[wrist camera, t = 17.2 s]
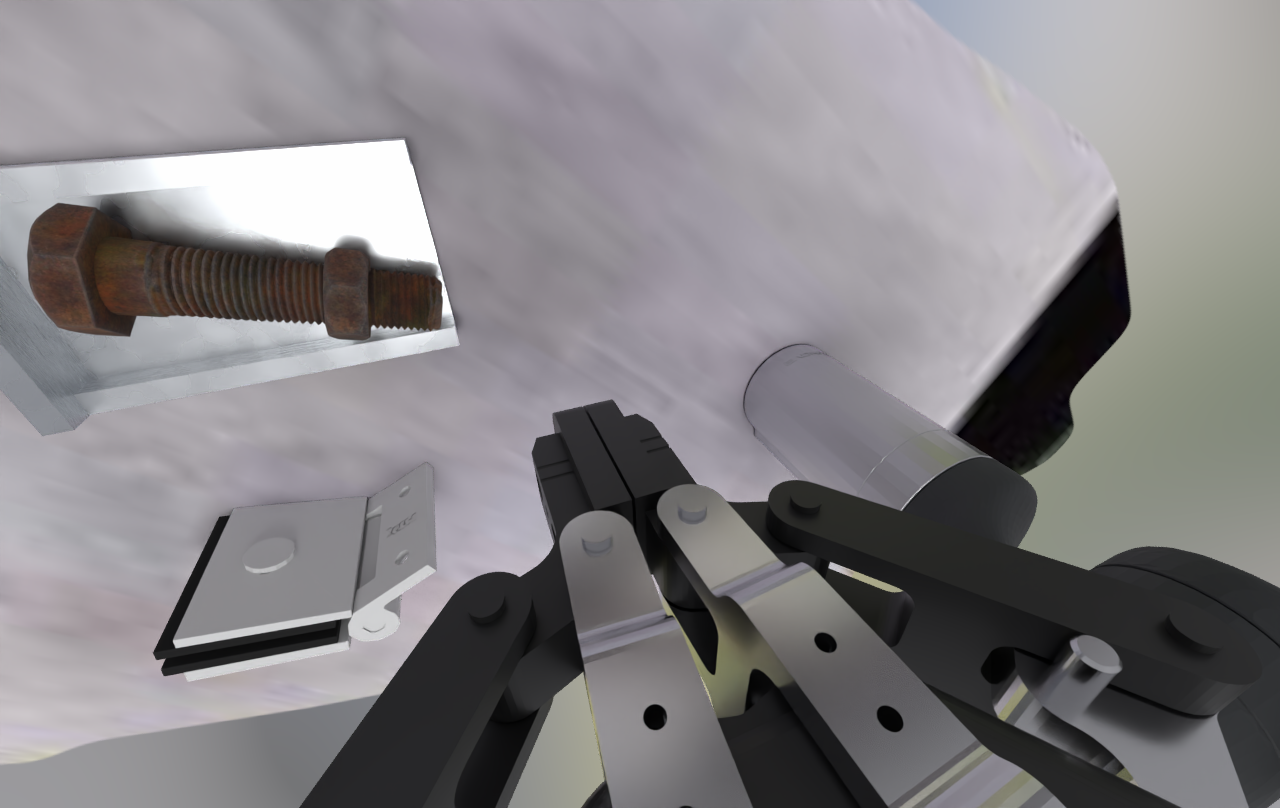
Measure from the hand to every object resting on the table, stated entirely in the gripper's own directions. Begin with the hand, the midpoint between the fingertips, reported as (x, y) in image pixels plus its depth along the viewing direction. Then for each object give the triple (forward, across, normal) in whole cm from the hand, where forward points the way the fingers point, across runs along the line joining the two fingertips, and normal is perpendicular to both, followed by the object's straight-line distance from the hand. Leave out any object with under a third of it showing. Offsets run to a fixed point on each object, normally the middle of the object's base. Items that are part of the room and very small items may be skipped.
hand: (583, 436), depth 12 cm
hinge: (+22, +14, +17) cm, 31 cm away
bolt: (+21, +11, 0) cm, 24 cm away
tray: (+22, +12, 0) cm, 25 cm away
